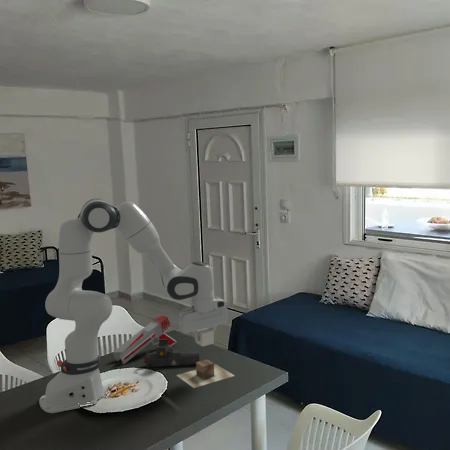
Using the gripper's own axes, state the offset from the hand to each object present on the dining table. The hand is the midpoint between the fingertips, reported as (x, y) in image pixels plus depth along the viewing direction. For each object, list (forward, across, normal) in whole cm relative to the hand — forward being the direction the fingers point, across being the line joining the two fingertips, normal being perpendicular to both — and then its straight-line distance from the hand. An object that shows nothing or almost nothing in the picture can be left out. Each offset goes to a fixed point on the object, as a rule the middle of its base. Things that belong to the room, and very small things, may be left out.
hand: (204, 339), depth 197 cm
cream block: (+2, 0, 0) cm, 2 cm away
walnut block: (+14, -1, 0) cm, 14 cm away
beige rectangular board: (+15, -1, 0) cm, 15 cm away
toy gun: (+16, -8, +37) cm, 41 cm away
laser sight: (+16, -6, +18) cm, 25 cm away
